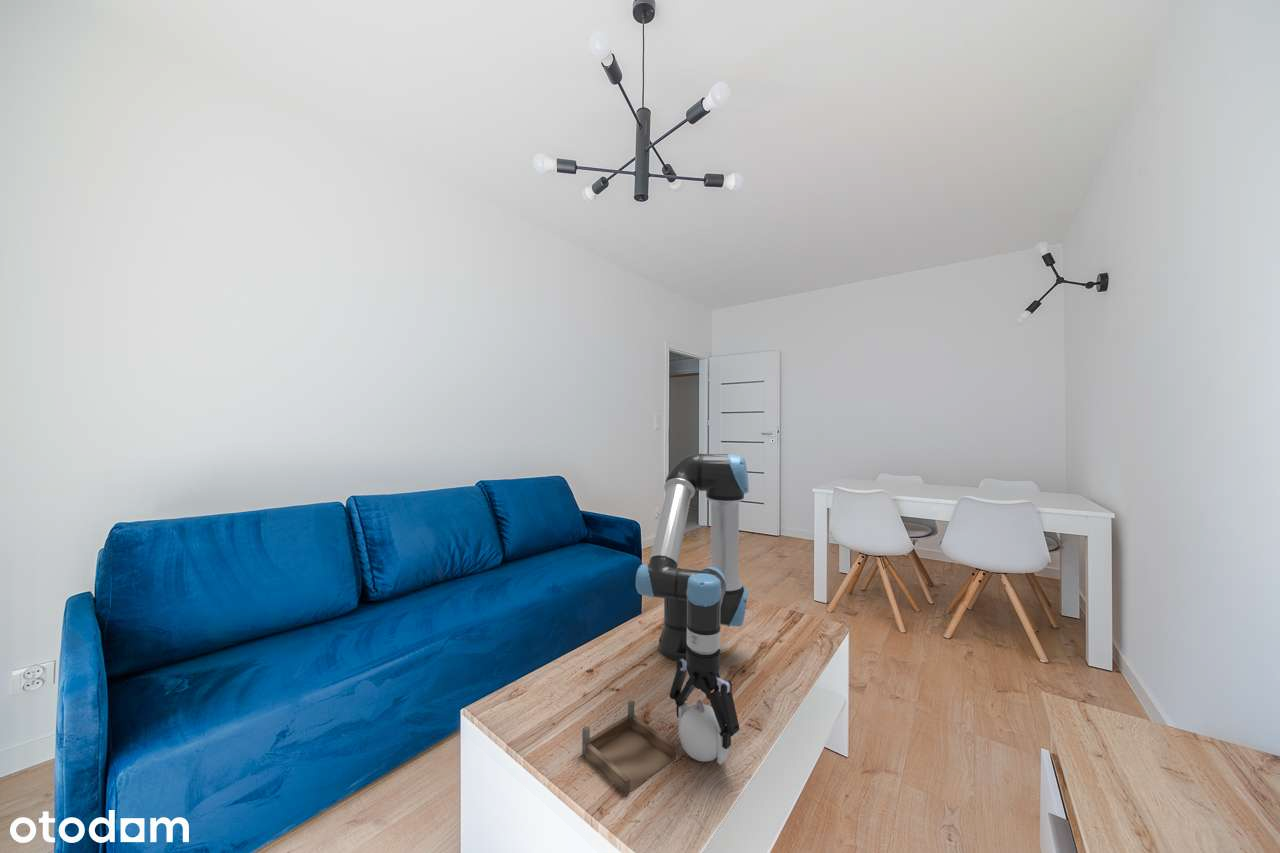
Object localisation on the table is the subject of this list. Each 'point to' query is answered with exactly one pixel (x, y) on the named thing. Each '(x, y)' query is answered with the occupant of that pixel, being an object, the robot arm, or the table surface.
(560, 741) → the table surface
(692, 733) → the ornament
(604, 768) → the keeper
